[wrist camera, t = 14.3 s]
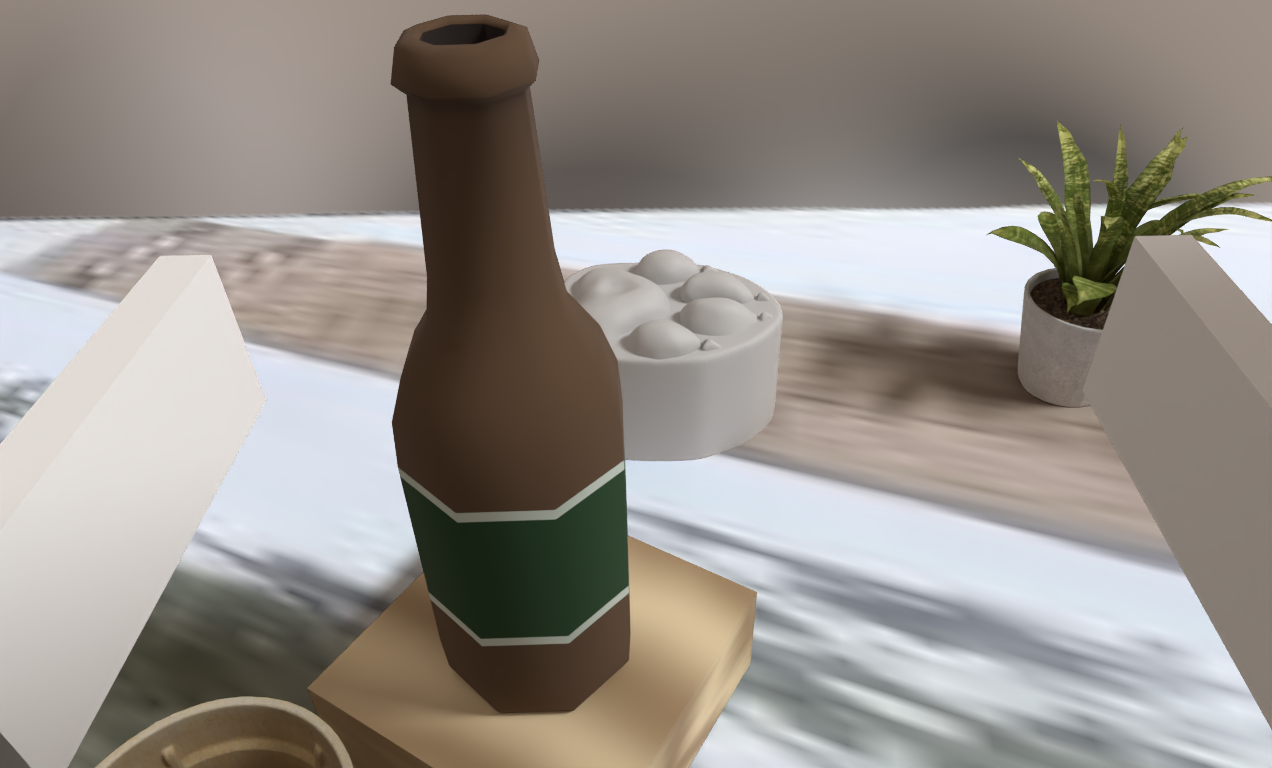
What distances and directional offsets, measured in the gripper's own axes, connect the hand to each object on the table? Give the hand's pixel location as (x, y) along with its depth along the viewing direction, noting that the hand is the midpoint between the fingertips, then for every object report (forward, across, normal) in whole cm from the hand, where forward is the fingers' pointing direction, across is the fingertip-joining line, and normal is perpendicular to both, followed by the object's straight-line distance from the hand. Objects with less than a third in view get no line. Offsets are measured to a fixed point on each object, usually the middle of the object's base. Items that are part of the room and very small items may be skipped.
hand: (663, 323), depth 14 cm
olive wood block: (+11, -6, -28) cm, 31 cm away
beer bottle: (+11, -6, -23) cm, 26 cm away
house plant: (+33, +24, -29) cm, 51 cm away
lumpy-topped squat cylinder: (+32, 0, -29) cm, 43 cm away
